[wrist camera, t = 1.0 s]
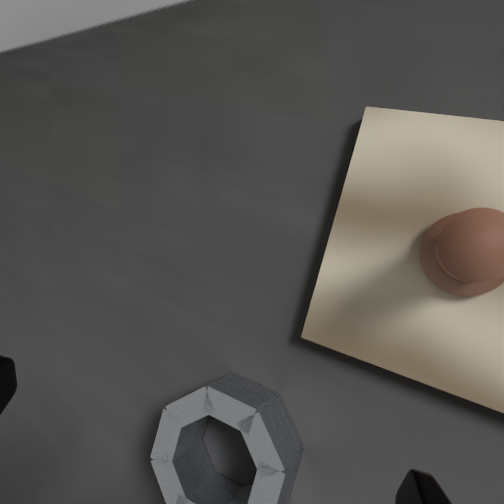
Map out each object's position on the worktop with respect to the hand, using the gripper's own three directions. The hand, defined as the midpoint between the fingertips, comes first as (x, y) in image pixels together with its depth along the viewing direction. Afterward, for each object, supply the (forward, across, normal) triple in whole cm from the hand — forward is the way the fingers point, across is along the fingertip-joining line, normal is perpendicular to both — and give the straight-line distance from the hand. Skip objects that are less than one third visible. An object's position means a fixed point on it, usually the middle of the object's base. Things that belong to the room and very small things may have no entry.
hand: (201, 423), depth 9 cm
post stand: (+12, -9, -1) cm, 15 cm away
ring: (+9, -1, +12) cm, 15 cm away
